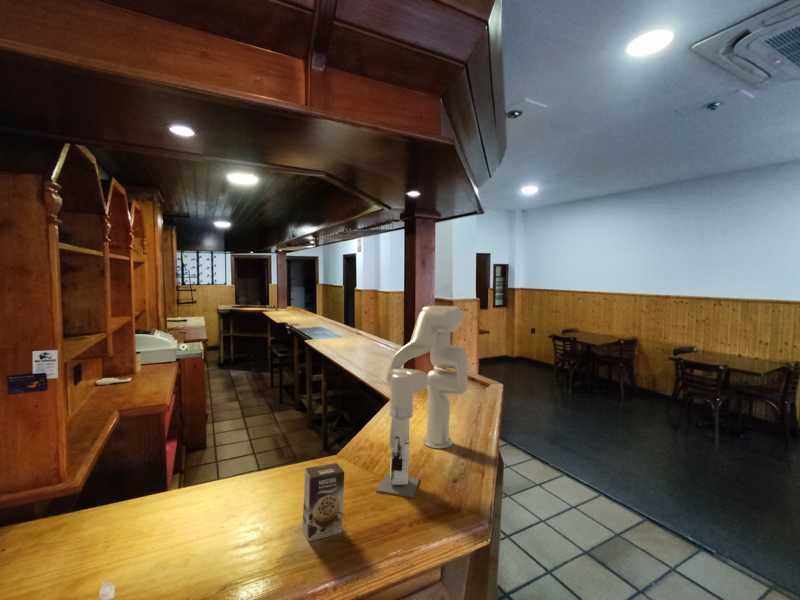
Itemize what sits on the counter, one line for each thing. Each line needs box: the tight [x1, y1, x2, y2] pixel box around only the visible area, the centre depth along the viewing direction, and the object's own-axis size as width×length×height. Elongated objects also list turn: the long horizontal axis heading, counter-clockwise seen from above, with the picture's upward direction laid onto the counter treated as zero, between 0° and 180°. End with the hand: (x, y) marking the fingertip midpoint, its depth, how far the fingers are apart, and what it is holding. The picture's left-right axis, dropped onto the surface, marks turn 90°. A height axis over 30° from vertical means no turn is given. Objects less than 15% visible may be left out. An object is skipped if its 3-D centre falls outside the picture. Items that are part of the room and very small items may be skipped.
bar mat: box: [375, 473, 421, 498], centre depth 124 cm, size 12×12×1 cm
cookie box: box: [302, 462, 345, 542], centre depth 99 cm, size 9×6×16 cm
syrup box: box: [389, 435, 411, 485], centre depth 124 cm, size 6×6×14 cm
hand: (399, 464), depth 124 cm, fingers closed on syrup box, 6 cm apart
